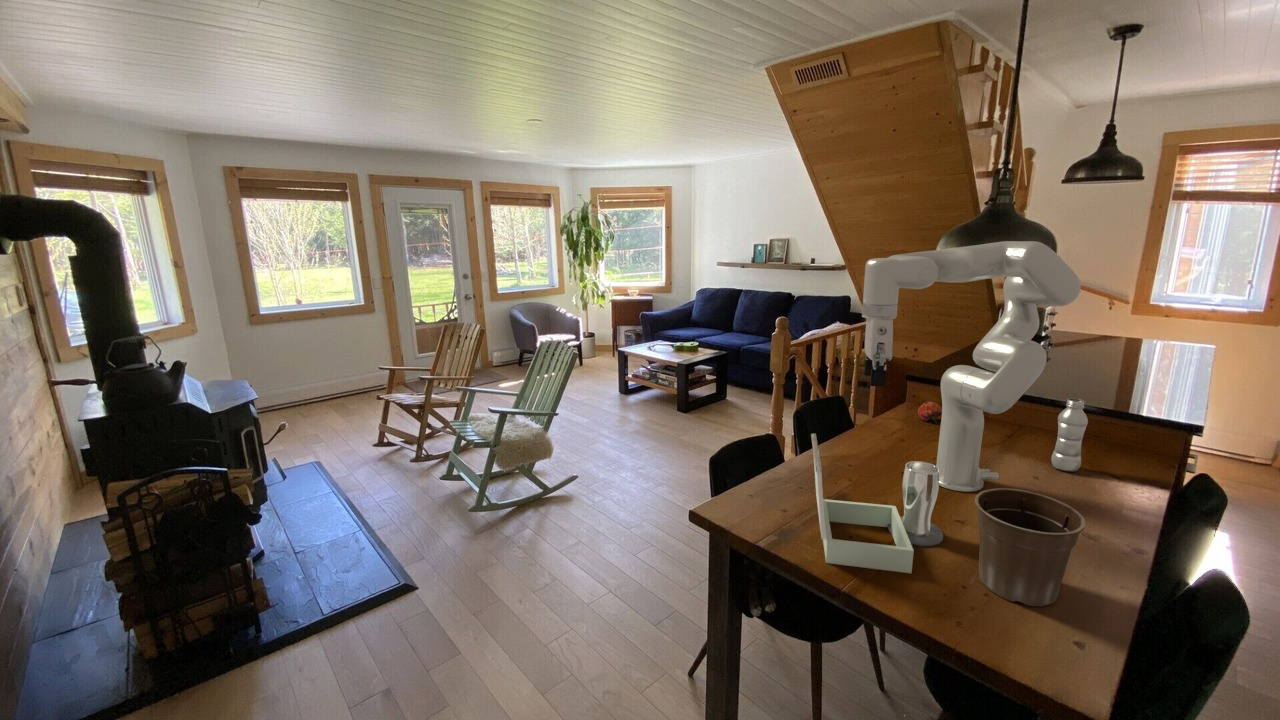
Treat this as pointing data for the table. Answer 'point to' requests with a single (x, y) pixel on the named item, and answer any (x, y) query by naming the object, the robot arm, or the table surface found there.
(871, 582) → the table surface
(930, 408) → the pomegranate
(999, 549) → the plant pot
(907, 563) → the frame
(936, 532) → the grey round coaster
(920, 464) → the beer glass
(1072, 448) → the plastic bottle
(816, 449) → the lid
